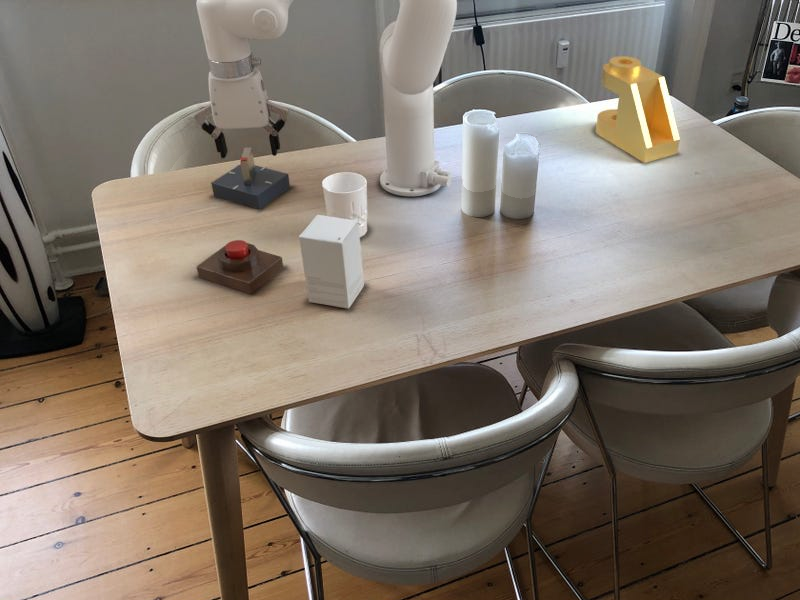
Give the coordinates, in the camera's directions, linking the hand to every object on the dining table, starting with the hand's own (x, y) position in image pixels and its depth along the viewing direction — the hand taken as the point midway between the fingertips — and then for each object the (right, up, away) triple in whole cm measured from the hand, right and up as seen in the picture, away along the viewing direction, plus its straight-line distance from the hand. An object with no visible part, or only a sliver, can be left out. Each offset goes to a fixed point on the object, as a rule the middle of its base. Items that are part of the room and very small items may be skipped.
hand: (250, 153), depth 160 cm
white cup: (+20, -16, -6) cm, 26 cm away
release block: (+3, -25, -17) cm, 30 cm away
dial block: (-1, -6, +5) cm, 8 cm away
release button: (+3, -22, -19) cm, 29 cm away
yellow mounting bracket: (+78, +9, +27) cm, 83 cm away
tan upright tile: (-1, -4, +3) cm, 5 cm away
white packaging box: (+20, -29, -21) cm, 41 cm away
